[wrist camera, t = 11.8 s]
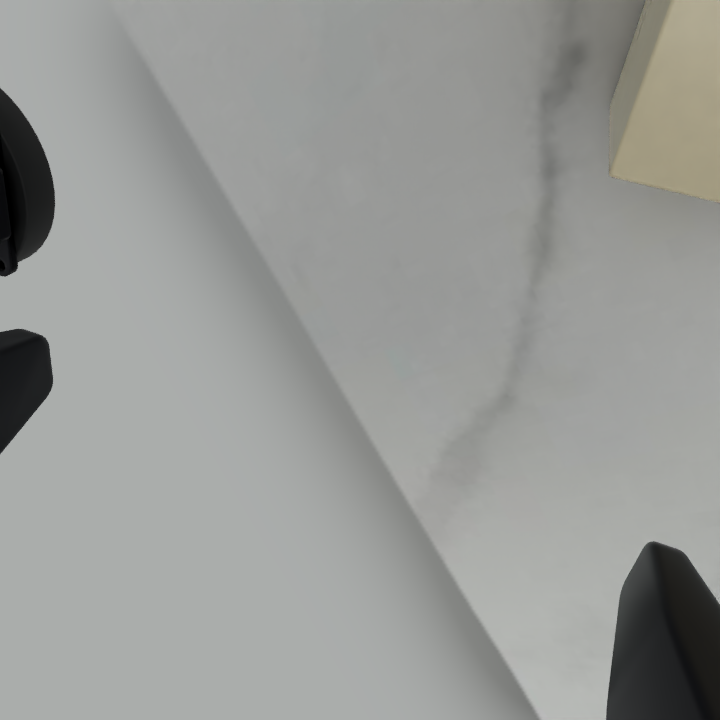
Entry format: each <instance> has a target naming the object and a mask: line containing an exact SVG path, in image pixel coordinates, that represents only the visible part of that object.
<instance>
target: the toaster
mask: <svg viewBox="0 0 720 720" xmlns="http://www.w3.org/2000/svg"><path fill="white" fill-rule="evenodd" d="M609 176H611V177H612V178H617V179H621V180H625V181H629V182H633V183H638V184H642V185H646V186H650V187H654V188H659V189H663V190H667V191H671V192H676V193H680V194H684V195H688V196H692V197H697V198H701V199H705V200H709V201H713V202H718V203H720V0H646V1H645V4H644V7H643V10H642V13H641V16H640V19H639V22H638V25H637V28H636V31H635V34H634V37H633V40H632V43H631V46H630V48H629V51H628V54H627V57H626V60H625V63H624V66H623V69H622V72H621V75H620V78H619V81H618V84H617V87H616V90H615V93H614V96H613V99H612V101H611V104H610V130H609Z"/></svg>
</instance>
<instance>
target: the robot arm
mask: <svg viewBox="0 0 720 720" xmlns="http://www.w3.org/2000/svg"><path fill="white" fill-rule="evenodd" d="M3 262H4V263H3ZM17 269H18V260H17V253H16V246H15V238H14V231H13V224H12V216H11V209H10V201H9V194H8V187H7V179H6V172H5V165H4V157H3V150H2V143H1V135H0V276H8V275H10V274H12V273H14V272H16V271H17ZM52 384H53V375H52V367H51V358H50V349H49V344H48V342H47V340H46V338H44V337H43V336H42V335H39V334H36V333H33V332H30V331H27V330H24V329H14V330H9V331H4V332H0V454H1V452H2V451H3V450H4V449H5V447H6V446H7V445H8V444H9V443H10V441H11V440H12V439H13V438H14V437H15V435H16V434H17V433H18V432H19V431H20V429H21V428H22V427H23V426H24V424H25V423H26V422H27V421H28V419H29V418H30V417H31V416H32V415H33V413H34V412H35V411H36V410H37V408H38V407H39V406H40V405H41V404H42V402H43V401H44V400H45V399H46V398H47V396H48V395H49V392H50V391H51V388H52ZM606 720H720V604H719V603H718V601H717V600H716V598H715V597H714V595H713V594H712V592H711V591H710V590H709V588H708V587H707V585H706V584H705V582H704V581H703V579H702V578H701V576H700V575H699V573H698V572H697V570H696V569H695V567H694V566H693V565H692V563H691V562H690V560H689V559H688V557H687V556H686V555H685V554H684V553H683V552H682V551H680V550H678V549H676V548H673V547H670V546H667V545H664V544H661V543H658V542H654V541H653V542H649V543H647V544H646V545H645V546H644V548H643V550H642V551H641V553H640V555H639V557H638V559H637V560H636V562H635V564H634V566H633V568H632V569H631V571H630V573H629V575H628V577H627V578H626V580H625V582H624V585H623V587H622V591H621V595H620V600H619V608H618V616H617V624H616V633H615V641H614V649H613V657H612V666H611V674H610V682H609V691H608V701H607V715H606Z"/></svg>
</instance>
